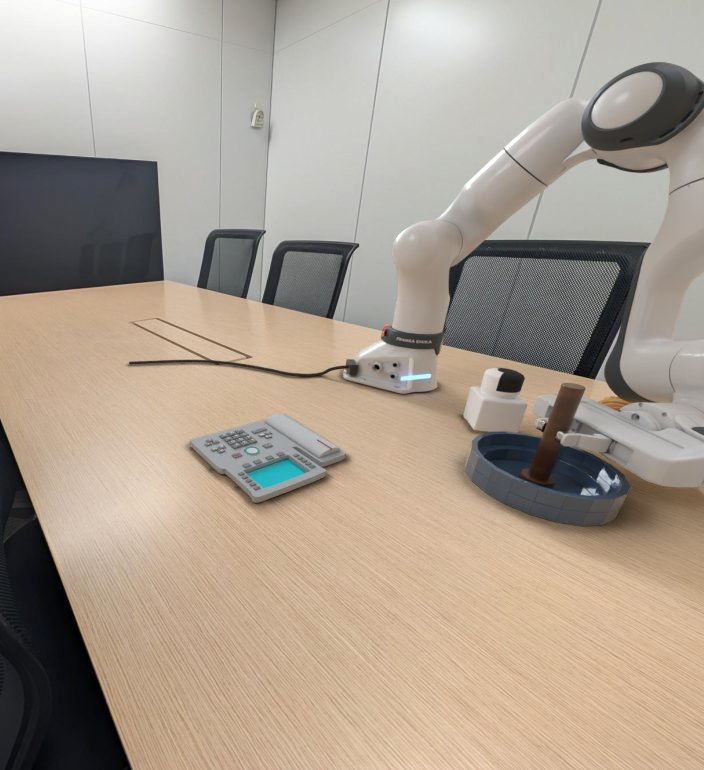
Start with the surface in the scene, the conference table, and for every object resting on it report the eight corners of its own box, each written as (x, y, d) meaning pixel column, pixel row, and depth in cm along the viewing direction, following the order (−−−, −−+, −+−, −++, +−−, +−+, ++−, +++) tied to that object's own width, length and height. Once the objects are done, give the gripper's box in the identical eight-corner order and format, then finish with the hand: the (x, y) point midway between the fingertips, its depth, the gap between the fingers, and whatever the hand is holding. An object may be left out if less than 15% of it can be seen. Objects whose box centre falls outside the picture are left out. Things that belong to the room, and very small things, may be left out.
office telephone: (284, 407, 80) (362, 451, 64) (283, 418, 81) (359, 464, 65) (188, 433, 71) (251, 493, 54) (189, 445, 72) (250, 507, 55)
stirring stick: (519, 487, 57) (556, 387, 51) (516, 473, 60) (551, 378, 54) (554, 496, 55) (597, 393, 49) (549, 482, 58) (590, 383, 52)
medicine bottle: (502, 420, 78) (520, 366, 73) (516, 437, 72) (537, 379, 67) (462, 416, 80) (477, 363, 75) (473, 432, 74) (490, 375, 69)
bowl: (463, 498, 56) (472, 471, 54) (464, 445, 69) (471, 422, 67) (633, 549, 47) (651, 517, 45) (597, 476, 60) (609, 450, 58)
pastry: (635, 431, 72) (644, 414, 71) (587, 419, 77) (594, 403, 76) (640, 416, 78) (648, 400, 76) (594, 406, 83) (601, 390, 81)
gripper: (594, 385, 61) (505, 384, 63) (759, 453, 43) (627, 450, 44) (580, 419, 64) (494, 417, 65) (729, 497, 45) (605, 494, 46)
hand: (549, 431), depth 54 cm, fingers closed on stirring stick, 2 cm apart
